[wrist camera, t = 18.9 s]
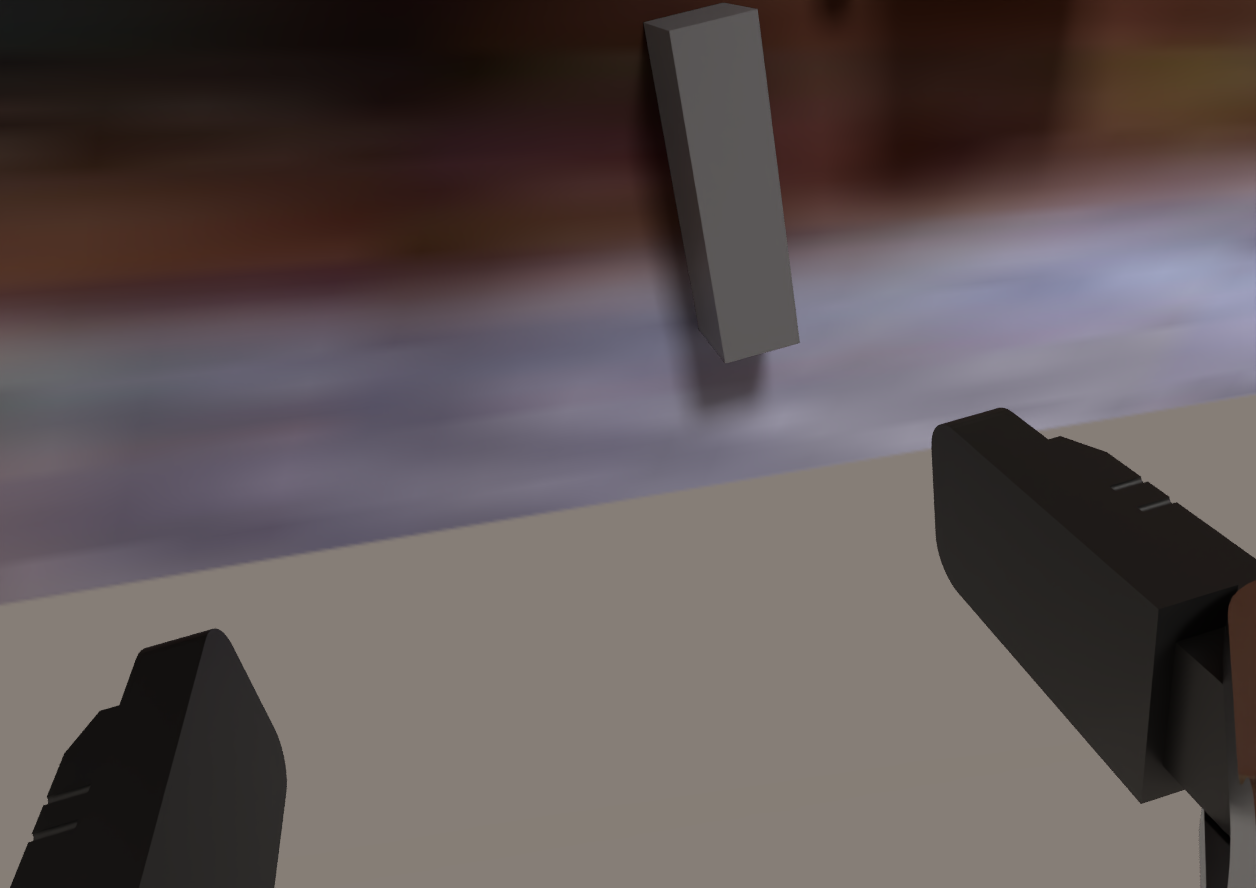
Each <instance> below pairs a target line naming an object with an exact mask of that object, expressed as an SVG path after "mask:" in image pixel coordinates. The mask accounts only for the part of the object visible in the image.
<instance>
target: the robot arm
mask: <svg viewBox="0 0 1256 888" xmlns="http://www.w3.org/2000/svg"><path fill="white" fill-rule="evenodd" d="M932 467H933V488H934V509H935V529H936V542H937V547H938V552H939V556H940V559H941V562H942V565H943V567H944V570H945V572H946V574H947V576H948V578H949V580H950V582H951V583H952V585H953V587H954V588H955V589H956V590H957V592H958V593H959V594H960V595H961V596H962V598H963V599H964V600H965V601H966V602H967V603H968V605H969V606H970V607H971V608H972V609H973V611H974V612H975V613H976V614H977V615H978V616H979V617H980V619H981V620H982V621H983V622H984V623H985V624H986V626H987V627H988V628H989V629H990V630H991V631H992V632H993V634H994V635H995V636H996V637H997V638H998V639H999V641H1000V642H1001V643H1002V644H1003V645H1004V646H1005V647H1006V649H1007V650H1008V651H1009V652H1010V653H1011V654H1012V656H1013V657H1014V658H1015V659H1016V660H1017V661H1018V662H1019V663H1020V665H1021V666H1022V667H1023V668H1024V669H1025V671H1026V672H1027V673H1028V674H1029V675H1030V676H1031V677H1032V679H1033V680H1034V681H1035V682H1036V683H1037V684H1038V686H1039V687H1040V688H1041V689H1042V690H1043V691H1044V692H1045V694H1046V695H1047V696H1048V697H1049V698H1050V699H1051V700H1052V702H1053V703H1054V704H1055V705H1056V706H1057V707H1058V709H1059V710H1060V711H1061V712H1062V713H1063V714H1064V716H1065V717H1066V718H1067V719H1068V720H1069V721H1070V722H1071V724H1072V725H1073V726H1074V727H1075V728H1076V729H1077V731H1078V732H1079V733H1080V734H1081V735H1082V736H1083V738H1085V740H1086V741H1087V742H1088V743H1089V744H1090V746H1091V747H1092V748H1093V749H1094V750H1095V751H1096V753H1097V754H1098V755H1099V756H1100V757H1101V758H1102V759H1103V760H1104V762H1105V763H1106V764H1107V765H1108V766H1109V767H1110V769H1111V770H1112V771H1113V772H1114V773H1115V774H1116V776H1117V777H1118V778H1119V779H1120V780H1121V781H1122V783H1123V784H1124V785H1125V786H1126V787H1127V788H1128V789H1129V791H1130V792H1131V793H1132V794H1133V795H1134V796H1135V798H1136V799H1137V800H1138V801H1139V802H1140V803H1141V804H1142V803H1145V802H1148V801H1151V800H1155V799H1157V798H1160V797H1163V796H1167V795H1170V794H1172V793H1176V792H1179V791H1182V790H1186V791H1187V792H1188V793H1189V794H1190V795H1191V796H1192V798H1193V799H1194V800H1195V801H1196V802H1197V803H1198V804H1199V805H1200V806H1201V807H1202V809H1201V817H1200V824H1199V860H1200V861H1199V863H1200V888H1256V559H1255V558H1254V557H1252V556H1251V555H1249V554H1248V553H1247V552H1245V551H1244V550H1242V549H1241V548H1240V547H1238V546H1237V545H1236V544H1234V543H1232V542H1231V541H1230V540H1229V539H1227V538H1226V537H1224V536H1223V535H1222V534H1220V533H1219V532H1217V531H1216V530H1215V529H1213V528H1212V527H1210V526H1209V525H1208V524H1206V523H1205V522H1203V521H1202V520H1201V519H1199V518H1197V517H1196V516H1195V515H1194V514H1192V513H1191V512H1189V511H1188V510H1187V509H1185V508H1184V507H1182V506H1181V505H1180V504H1178V503H1173V504H1172V503H1171V502H1170V499H1169V496H1167V495H1166V494H1164V493H1163V492H1162V491H1160V490H1159V489H1157V488H1156V487H1155V486H1153V485H1152V484H1150V483H1149V482H1145V483H1143V482H1142V480H1141V476H1139V475H1138V474H1136V473H1135V472H1134V471H1132V470H1131V469H1129V468H1128V467H1127V466H1125V465H1124V464H1122V463H1121V462H1120V461H1118V460H1117V459H1115V458H1114V457H1113V456H1111V455H1110V454H1108V453H1107V452H1104V451H1102V450H1099V449H1096V448H1093V447H1090V446H1087V445H1084V444H1082V443H1078V442H1076V441H1073V440H1070V439H1067V438H1064V437H1061V436H1059V437H1056V438H1052V439H1049V440H1048V439H1047V438H1046V437H1044V436H1043V435H1042V434H1040V433H1039V432H1038V431H1036V430H1035V429H1034V428H1032V427H1031V426H1030V425H1028V424H1027V423H1026V422H1025V421H1023V420H1022V419H1021V418H1019V417H1018V416H1017V415H1015V414H1014V413H1013V412H1011V411H1010V410H1008V409H1005V408H997V409H993V410H990V411H986V412H983V413H979V414H976V415H972V416H969V417H965V418H962V419H958V420H954V421H951V422H947V423H944V424H941V425H938V426H937V427H936V428H935V430H934V432H933V435H932ZM286 787H287V778H286V767H285V761H284V755H283V751H282V747H281V744H280V741H279V738H278V735H277V733H276V731H275V729H274V727H273V725H272V723H271V721H270V719H269V717H268V715H267V713H266V711H265V709H264V707H263V705H262V703H261V701H260V699H259V697H258V695H257V693H256V691H255V689H254V687H253V686H252V684H251V681H250V679H249V677H248V675H247V673H246V671H245V670H244V668H243V666H242V664H241V662H240V660H239V658H238V656H237V654H236V652H235V650H234V648H233V646H232V644H231V642H230V641H229V639H228V638H227V636H226V635H225V634H224V633H223V632H222V631H220V630H219V629H211V630H207V631H204V632H201V633H197V634H193V635H190V636H186V637H183V638H179V639H176V640H172V641H169V642H165V643H162V644H158V645H154V646H151V647H148V648H144V649H143V650H141V652H140V653H139V654H138V656H137V658H136V660H135V663H134V666H133V669H132V672H131V674H130V677H129V680H128V683H127V686H126V688H125V691H124V694H123V697H122V700H121V702H120V705H119V706H116V707H112V708H109V709H105V710H101V711H99V713H98V714H97V715H96V716H95V717H94V719H93V720H92V721H91V722H90V723H89V725H88V726H87V727H86V728H85V730H84V731H83V732H82V733H81V734H80V735H79V737H78V738H77V739H76V740H75V741H74V743H73V744H72V745H71V746H70V747H69V749H68V750H67V751H66V752H65V753H64V756H63V758H62V761H61V763H60V766H59V768H58V770H57V773H56V775H55V778H54V780H53V783H52V785H51V788H50V790H49V793H48V795H47V798H48V804H47V805H44V806H43V807H42V810H41V812H40V815H39V817H38V820H37V822H36V825H35V827H34V830H33V832H32V834H33V836H34V840H33V841H32V842H29V843H28V845H27V847H26V850H25V852H24V855H23V857H22V859H21V862H20V864H19V867H18V869H17V872H16V874H15V877H14V879H13V882H12V884H11V886H10V888H274V885H275V878H276V868H277V862H278V854H279V845H280V837H281V830H282V822H283V814H284V806H285V798H286Z"/></svg>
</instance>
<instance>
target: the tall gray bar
mask: <svg viewBox="0 0 1256 888" xmlns="http://www.w3.org/2000/svg"><path fill="white" fill-rule="evenodd" d="M643 23H644V29H645V34H646V40H647V45H648V51H649V56H650V62H651V68H652V73H653V79H654V84H655V90H656V95H657V101H658V106H659V112H660V117H661V123H662V128H663V134H664V140H665V145H666V151H667V156H668V162H669V167H670V173H671V178H672V184H673V189H674V195H675V200H676V206H677V212H678V217H679V223H680V228H681V234H682V239H683V245H684V250H685V256H686V261H687V267H688V272H689V278H690V284H691V289H692V295H693V300H694V306H695V311H696V317H697V322H698V328H699V331H700V332H701V333H702V334H703V336H704V337H705V338H706V339H707V341H708V342H709V343H710V345H711V346H712V347H713V348H714V350H715V351H716V352H717V354H718V355H719V356H720V357H721V359H722V360H723V361H724V363H725V364H726V363H730V362H733V361H737V360H741V359H744V358H748V357H751V356H755V355H758V354H762V353H766V352H769V351H773V350H776V349H780V348H783V347H787V346H791V345H794V344H798V343H800V341H799V333H798V325H797V317H796V309H795V301H794V294H793V286H792V278H791V270H790V262H789V254H788V246H787V238H786V230H785V223H784V215H783V207H782V199H781V191H780V183H779V175H778V167H777V160H776V152H775V144H774V136H773V128H772V120H771V112H770V104H769V96H768V89H767V81H766V73H765V65H764V57H763V49H762V41H761V33H760V25H759V18H758V10H757V9H754V8H749V7H743V6H738V5H733V4H728V3H720V4H716V5H712V6H708V7H704V8H700V9H696V10H692V11H688V12H684V13H680V14H676V15H672V16H668V17H663V18H659V19H655V20H651V21H647V22H643Z"/></svg>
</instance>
